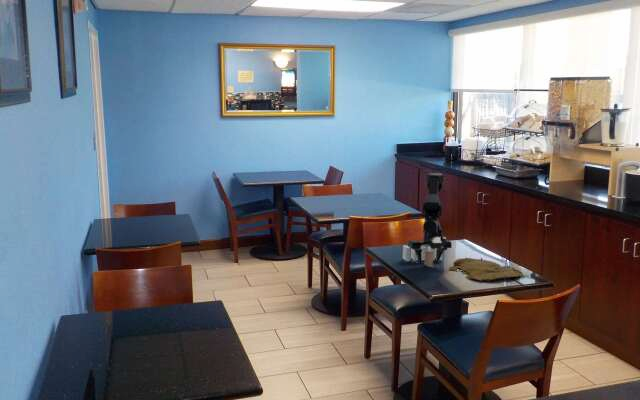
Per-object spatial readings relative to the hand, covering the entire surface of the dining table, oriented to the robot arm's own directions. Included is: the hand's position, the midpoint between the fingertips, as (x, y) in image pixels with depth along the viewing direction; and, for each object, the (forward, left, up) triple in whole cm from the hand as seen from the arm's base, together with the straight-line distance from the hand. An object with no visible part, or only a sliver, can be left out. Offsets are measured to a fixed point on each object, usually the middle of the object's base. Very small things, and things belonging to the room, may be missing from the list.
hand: (428, 262), depth 260 cm
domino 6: (-9, +9, -2) cm, 13 cm away
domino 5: (0, 0, -2) cm, 2 cm away
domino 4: (-9, +5, -2) cm, 11 cm away
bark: (+13, +22, -2) cm, 25 cm away
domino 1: (-9, -7, -2) cm, 12 cm away
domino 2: (-9, -3, -2) cm, 10 cm away
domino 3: (-9, +1, -2) cm, 10 cm away
